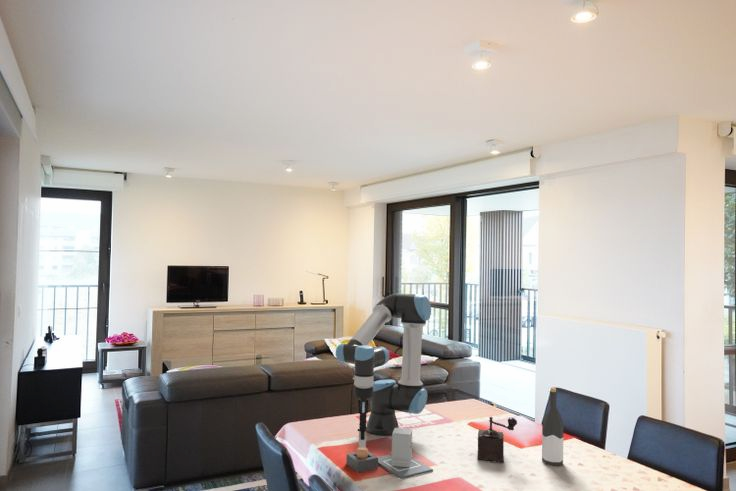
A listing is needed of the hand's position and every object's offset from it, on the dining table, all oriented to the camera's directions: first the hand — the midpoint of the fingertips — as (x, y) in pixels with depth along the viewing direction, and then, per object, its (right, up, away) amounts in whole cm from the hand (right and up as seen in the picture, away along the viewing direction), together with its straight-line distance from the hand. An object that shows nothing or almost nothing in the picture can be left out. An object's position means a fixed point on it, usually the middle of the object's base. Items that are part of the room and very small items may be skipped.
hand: (362, 446), depth 201 cm
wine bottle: (+77, -9, +8) cm, 78 cm away
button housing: (0, -7, 0) cm, 7 cm away
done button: (0, -5, 0) cm, 5 cm away
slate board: (+16, -8, +1) cm, 17 cm away
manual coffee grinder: (+55, -9, +11) cm, 57 cm away
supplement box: (+15, -7, +1) cm, 17 cm away
